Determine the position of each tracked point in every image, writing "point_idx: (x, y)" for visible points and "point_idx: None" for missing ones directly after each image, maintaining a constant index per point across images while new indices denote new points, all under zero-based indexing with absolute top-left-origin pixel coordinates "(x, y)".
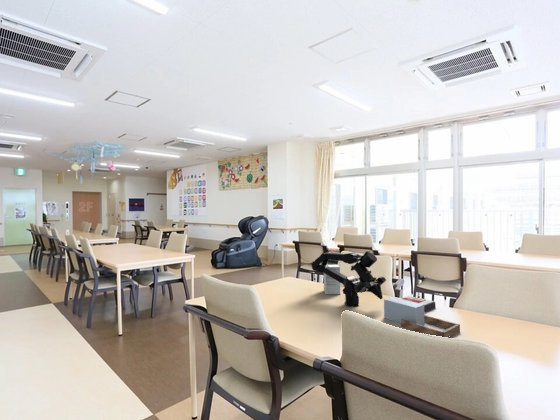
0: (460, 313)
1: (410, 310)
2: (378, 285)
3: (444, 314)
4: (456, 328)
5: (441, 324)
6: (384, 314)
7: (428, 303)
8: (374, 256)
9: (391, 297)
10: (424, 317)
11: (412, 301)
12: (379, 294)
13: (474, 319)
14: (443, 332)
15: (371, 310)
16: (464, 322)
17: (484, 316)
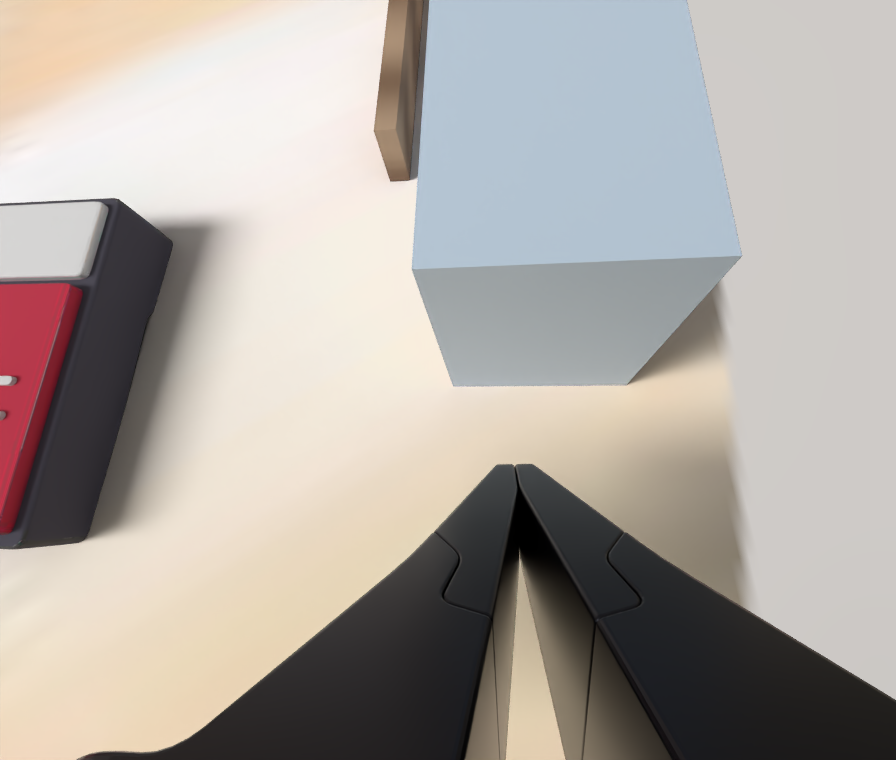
0: (40, 96)
1: None
2: (468, 705)
3: (128, 137)
4: None
5: (418, 4)
6: (638, 366)
7: (20, 205)
8: None
9: (481, 247)
10: (406, 86)
11: (28, 343)
12: (577, 506)
13: (122, 10)
14: None
15: (531, 674)
16: (220, 10)
17: (27, 10)
